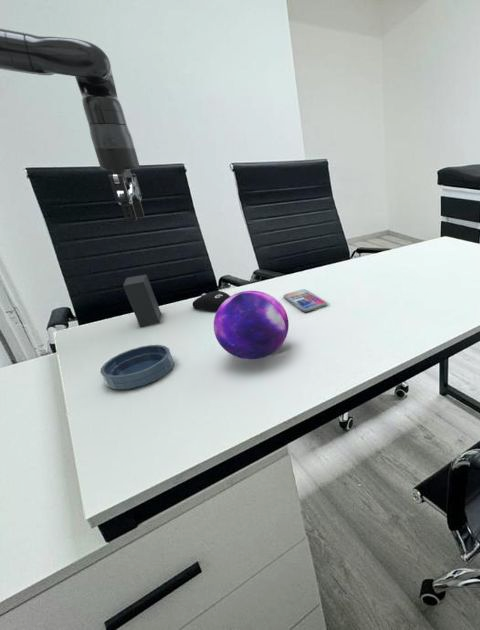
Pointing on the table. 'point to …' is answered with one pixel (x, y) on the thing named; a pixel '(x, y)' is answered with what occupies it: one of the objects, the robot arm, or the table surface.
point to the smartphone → (305, 300)
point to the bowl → (137, 367)
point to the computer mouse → (210, 301)
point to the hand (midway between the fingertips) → (135, 219)
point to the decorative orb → (251, 325)
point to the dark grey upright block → (142, 300)
